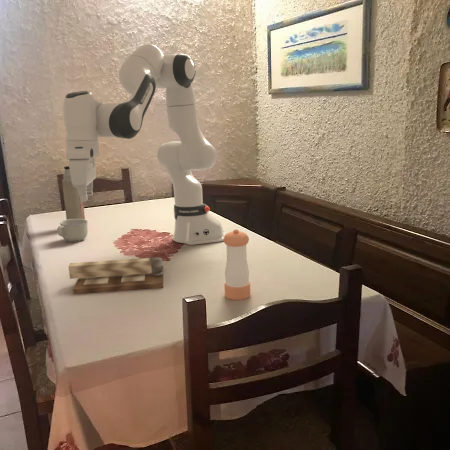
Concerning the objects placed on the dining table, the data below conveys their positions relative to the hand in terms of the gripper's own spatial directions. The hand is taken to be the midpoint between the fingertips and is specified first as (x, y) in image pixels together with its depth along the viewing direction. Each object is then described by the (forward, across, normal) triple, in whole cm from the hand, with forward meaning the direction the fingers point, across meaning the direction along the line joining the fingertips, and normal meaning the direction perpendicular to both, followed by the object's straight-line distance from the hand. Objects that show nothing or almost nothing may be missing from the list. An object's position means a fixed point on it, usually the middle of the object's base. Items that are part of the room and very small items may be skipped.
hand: (86, 198), depth 140 cm
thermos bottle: (+26, -77, -19) cm, 84 cm away
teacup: (+27, -55, -17) cm, 64 cm away
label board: (+27, -3, +8) cm, 28 cm away
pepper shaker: (+27, +14, +42) cm, 52 cm away
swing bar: (+24, -3, +7) cm, 26 cm away
